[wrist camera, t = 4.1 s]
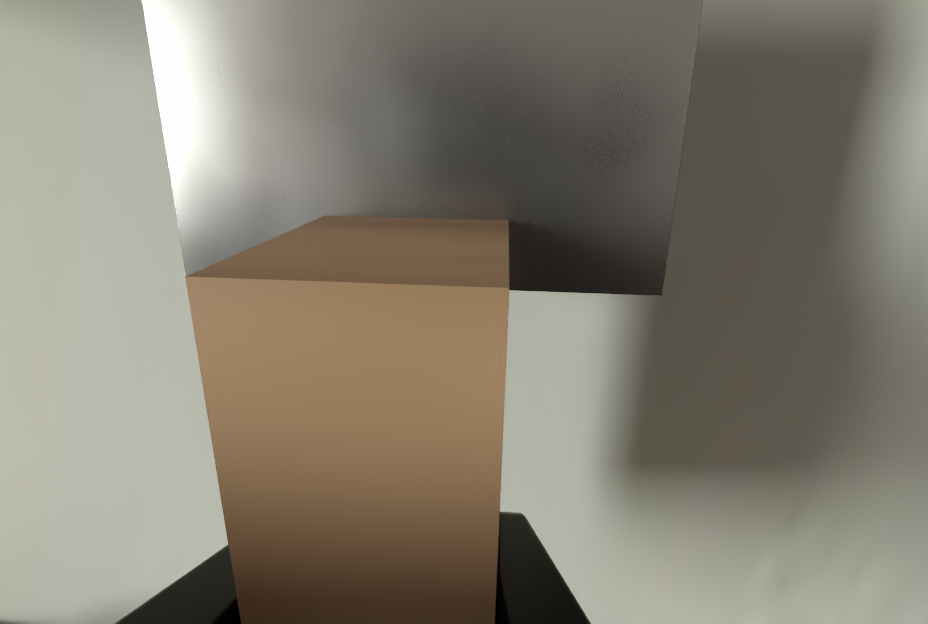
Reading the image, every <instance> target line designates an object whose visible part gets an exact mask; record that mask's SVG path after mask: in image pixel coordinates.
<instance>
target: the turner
mask: <svg viewBox="0 0 928 624" xmlns="http://www.w3.org/2000/svg"><path fill="white" fill-rule="evenodd" d="M142 4H143V10H144V16H145V22H146V29H147V35H148V41H149V47H150V54H151V60H152V66H153V72H154V79H155V85H156V91H157V97H158V104H159V110H160V116H161V122H162V129H163V135H164V141H165V147H166V153H167V160H168V166H169V172H170V178H171V185H172V191H173V197H174V203H175V210H176V216H177V222H178V228H179V235H180V241H181V247H182V253H183V260H184V266H185V272H186V283H187V289H188V296H189V302H190V308H191V314H192V321H193V327H194V333H195V339H196V345H197V352H198V358H199V364H200V370H201V377H202V383H203V389H204V395H205V401H206V408H207V414H208V420H209V426H210V433H211V439H212V445H213V451H214V458H215V464H216V470H217V476H218V482H219V489H220V495H221V501H222V507H223V514H224V520H225V526H226V532H227V538H228V545H229V551H230V557H231V563H232V570H233V576H234V582H235V588H236V594H237V601H238V607H239V613H240V619H241V624H495V606H496V583H497V560H498V536H499V513H500V490H501V467H502V444H503V421H504V398H505V375H506V352H507V328H508V305H509V290H520V291H549V292H577V293H605V294H633V295H662V289H663V282H664V275H665V268H666V261H667V254H668V246H669V239H670V232H671V225H672V218H673V211H674V204H675V197H676V189H677V182H678V175H679V168H680V161H681V154H682V147H683V140H684V132H685V125H686V118H687V111H688V104H689V97H690V90H691V83H692V76H693V68H694V61H695V54H696V47H697V40H698V33H699V26H700V19H701V11H702V4H703V0H142Z"/></svg>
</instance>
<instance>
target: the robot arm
mask: <svg viewBox="0 0 928 624" xmlns="http://www.w3.org/2000/svg"><path fill="white" fill-rule="evenodd" d="M115 624H241V619H240V613H239V607H238V601H237V594H236V588H235V582H234V576H233V570H232V563H231V557H230V551H229V545H227V546H226V547H224V548H223V549H221V550H220V551H218V552H217V553H215V554H214V555H213V556H211V557H210V558H208V559H207V560H205V561H204V562H203V563H201V564H200V565H198V566H197V567H195V568H194V569H193V570H191V571H190V572H188V573H187V574H185V575H184V576H182V577H181V578H180V579H178V580H177V581H175V582H174V583H172V584H171V585H170V586H168V587H167V588H165V589H164V590H162V591H161V592H160V593H158V594H157V595H155V596H154V597H152V598H151V599H149V600H148V601H147V602H145V603H144V604H142V605H141V606H139V607H138V608H137V609H135V610H134V611H132V612H131V613H129V614H128V615H127V616H125V617H124V618H122V619H121V620H119V621H118V622H116V623H115ZM495 624H591V623H590V622H589V620H588V618H587V617H586V615H585V613H584V612H583V610H582V608H581V607H580V605H579V604H578V602H577V600H576V599H575V597H574V595H573V594H572V592H571V591H570V589H569V587H568V586H567V584H566V582H565V581H564V579H563V577H562V576H561V574H560V573H559V571H558V569H557V568H556V566H555V564H554V563H553V561H552V560H551V558H550V556H549V555H548V553H547V551H546V550H545V548H544V546H543V545H542V543H541V542H540V540H539V538H538V537H537V535H536V533H535V532H534V530H533V529H532V527H531V525H530V524H529V522H528V520H527V519H526V517H525V516H524V515H523V514H521V513H512V512H500V513H499V536H498V560H497V583H496V606H495Z"/></svg>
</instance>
